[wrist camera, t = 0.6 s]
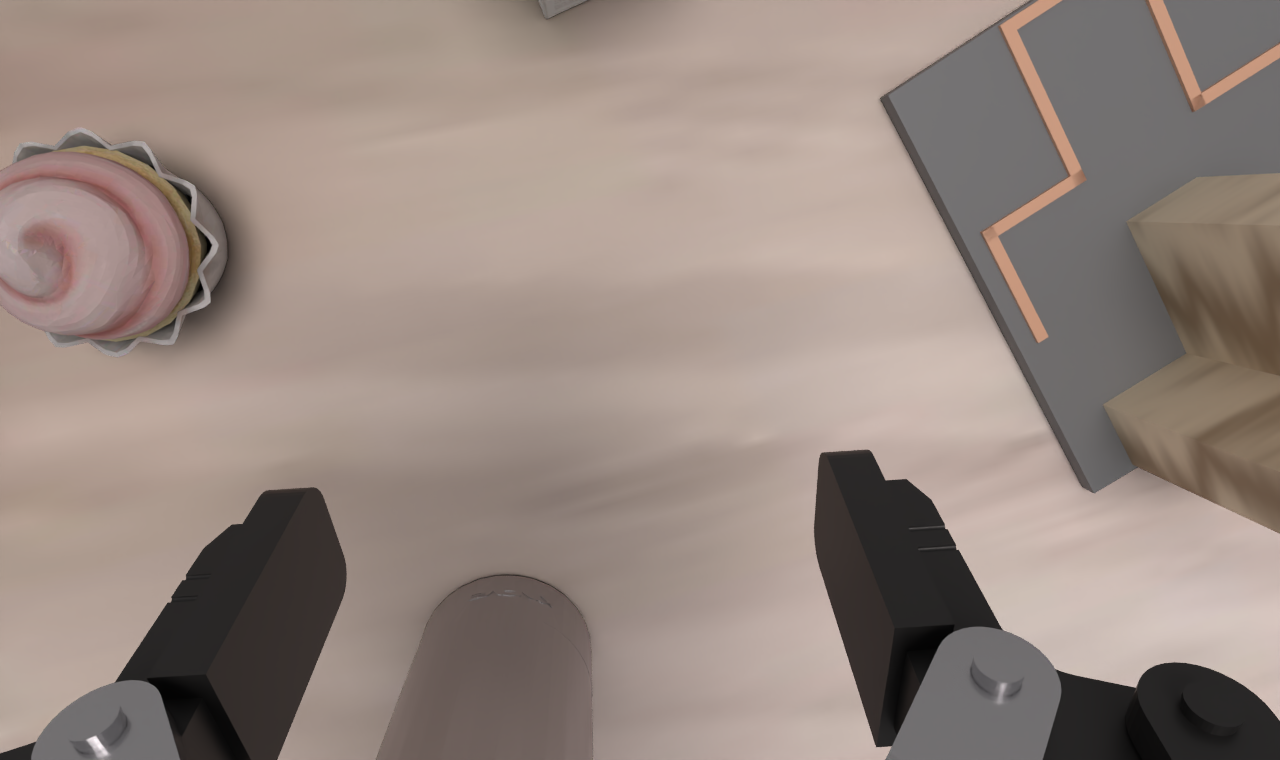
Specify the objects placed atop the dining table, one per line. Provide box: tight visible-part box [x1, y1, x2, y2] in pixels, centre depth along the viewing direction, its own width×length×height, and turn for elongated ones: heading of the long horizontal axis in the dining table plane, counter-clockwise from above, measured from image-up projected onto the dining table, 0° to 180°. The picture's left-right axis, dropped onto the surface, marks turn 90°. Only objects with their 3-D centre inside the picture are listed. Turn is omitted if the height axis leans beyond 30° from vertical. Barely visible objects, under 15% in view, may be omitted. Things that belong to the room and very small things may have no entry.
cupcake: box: [0, 127, 227, 357], centre depth 31 cm, size 9×9×10 cm
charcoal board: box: [880, 0, 1280, 493], centre depth 39 cm, size 24×19×1 cm
